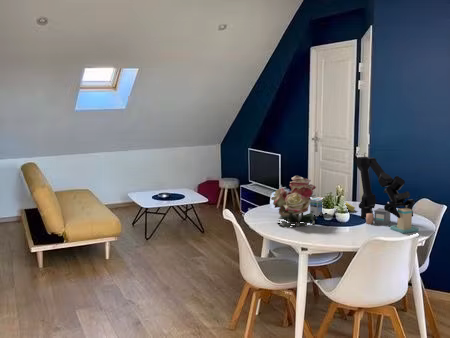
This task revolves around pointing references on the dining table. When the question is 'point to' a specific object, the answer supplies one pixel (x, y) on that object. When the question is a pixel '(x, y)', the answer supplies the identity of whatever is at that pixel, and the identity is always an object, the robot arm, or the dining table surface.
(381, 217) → the grey box
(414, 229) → the tray
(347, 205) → the plastic component
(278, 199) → the rose bouquet
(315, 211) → the light bulb box
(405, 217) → the carton
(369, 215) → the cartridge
